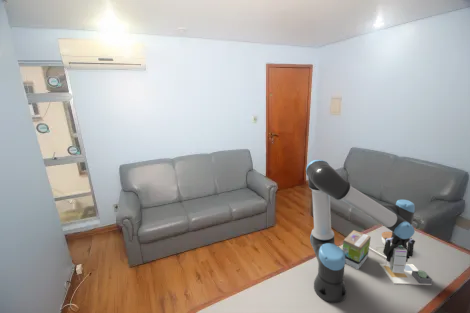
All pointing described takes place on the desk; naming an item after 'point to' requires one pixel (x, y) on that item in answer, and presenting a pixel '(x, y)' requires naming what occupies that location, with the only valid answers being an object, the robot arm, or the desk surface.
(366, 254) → the tea box
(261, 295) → the desk surface
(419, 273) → the button
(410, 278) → the white button panel
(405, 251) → the syrup box
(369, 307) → the desk surface
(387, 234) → the lidded jar
